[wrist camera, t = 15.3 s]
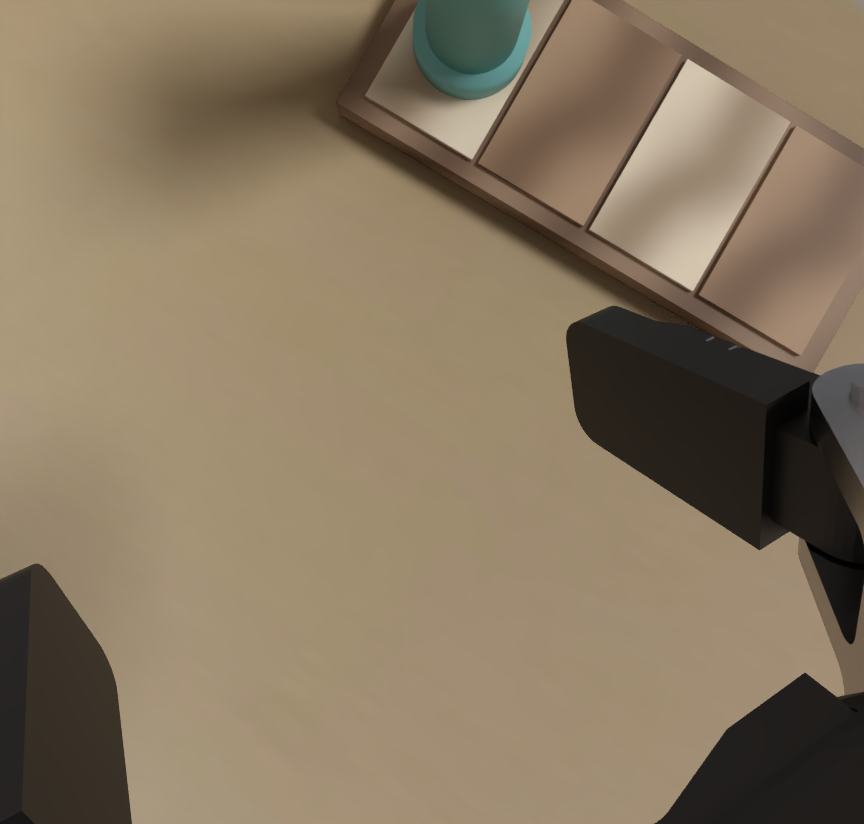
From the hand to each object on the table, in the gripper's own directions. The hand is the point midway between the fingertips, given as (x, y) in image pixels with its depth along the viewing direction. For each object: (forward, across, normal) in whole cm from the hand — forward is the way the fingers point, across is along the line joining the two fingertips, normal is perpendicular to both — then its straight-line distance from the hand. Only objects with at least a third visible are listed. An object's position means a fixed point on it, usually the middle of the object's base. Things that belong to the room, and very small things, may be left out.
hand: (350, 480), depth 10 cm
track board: (+17, -20, +2) cm, 26 cm away
